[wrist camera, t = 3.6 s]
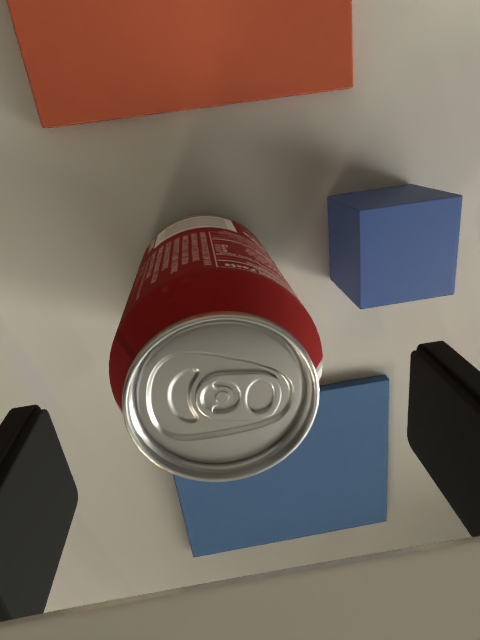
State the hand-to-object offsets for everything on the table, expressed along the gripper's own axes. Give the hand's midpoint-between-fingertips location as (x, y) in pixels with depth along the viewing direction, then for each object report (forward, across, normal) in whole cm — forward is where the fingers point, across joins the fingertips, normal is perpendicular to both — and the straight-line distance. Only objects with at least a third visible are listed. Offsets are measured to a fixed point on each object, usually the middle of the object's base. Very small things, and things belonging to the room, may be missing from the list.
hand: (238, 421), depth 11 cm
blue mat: (+13, -2, +14) cm, 19 cm away
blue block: (+13, -8, -1) cm, 16 cm away
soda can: (+13, +1, 0) cm, 13 cm away
